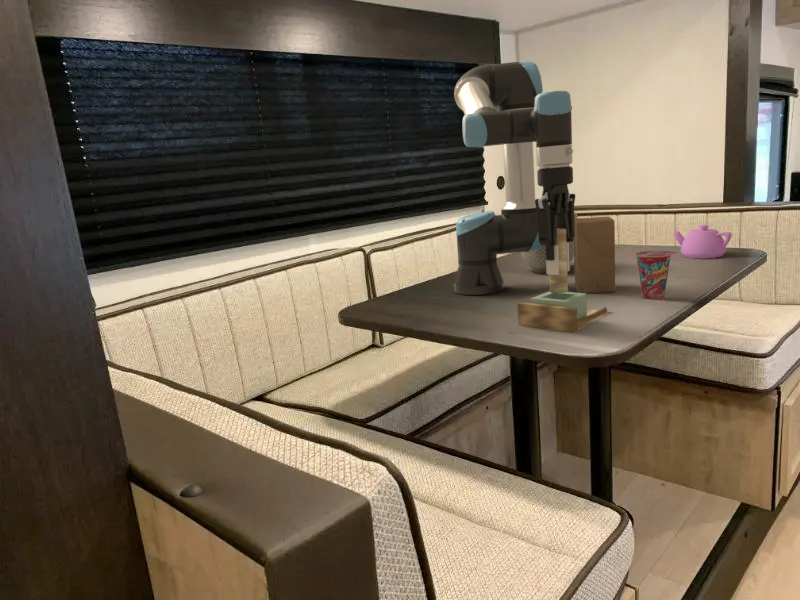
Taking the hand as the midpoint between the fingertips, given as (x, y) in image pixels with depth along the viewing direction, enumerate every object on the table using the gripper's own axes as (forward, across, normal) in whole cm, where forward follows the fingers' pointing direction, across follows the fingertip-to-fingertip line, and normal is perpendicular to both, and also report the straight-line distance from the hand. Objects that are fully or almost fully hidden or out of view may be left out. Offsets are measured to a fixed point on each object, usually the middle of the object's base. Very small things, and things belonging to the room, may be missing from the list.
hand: (558, 272), depth 134 cm
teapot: (+12, +98, +1) cm, 98 cm away
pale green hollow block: (+12, 0, 0) cm, 12 cm away
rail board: (+13, +4, 0) cm, 13 cm away
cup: (+13, +33, -9) cm, 36 cm away
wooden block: (+12, +38, +10) cm, 41 cm away
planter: (+12, +59, +37) cm, 70 cm away
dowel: (+4, 0, 0) cm, 4 cm away
